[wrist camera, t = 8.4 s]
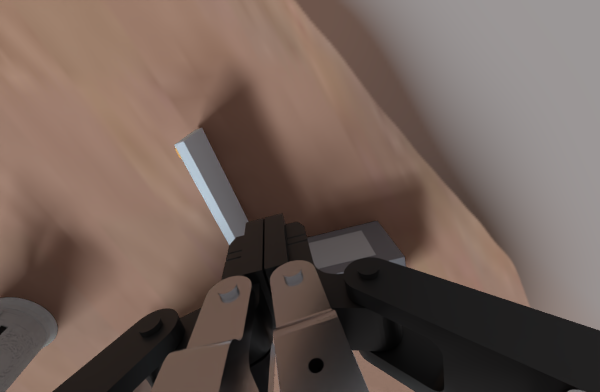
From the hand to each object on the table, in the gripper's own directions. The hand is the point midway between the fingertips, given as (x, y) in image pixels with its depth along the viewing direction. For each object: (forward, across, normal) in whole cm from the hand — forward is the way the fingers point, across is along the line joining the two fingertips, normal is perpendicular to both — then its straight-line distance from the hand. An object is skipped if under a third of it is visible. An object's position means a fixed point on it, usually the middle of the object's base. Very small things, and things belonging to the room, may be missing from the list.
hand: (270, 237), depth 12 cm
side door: (+21, +6, +5) cm, 22 cm away
